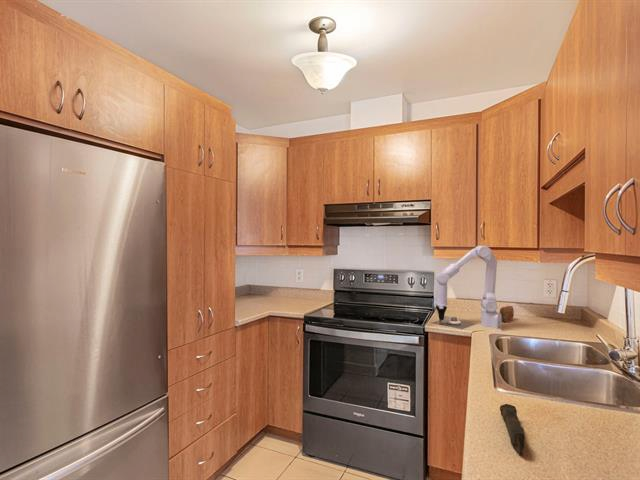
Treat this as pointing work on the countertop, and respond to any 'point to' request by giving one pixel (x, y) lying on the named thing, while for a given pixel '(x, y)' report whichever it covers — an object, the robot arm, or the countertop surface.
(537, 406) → the countertop surface
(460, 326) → the dial plate
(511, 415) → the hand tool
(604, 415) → the countertop surface
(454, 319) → the dial
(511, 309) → the brown slab
